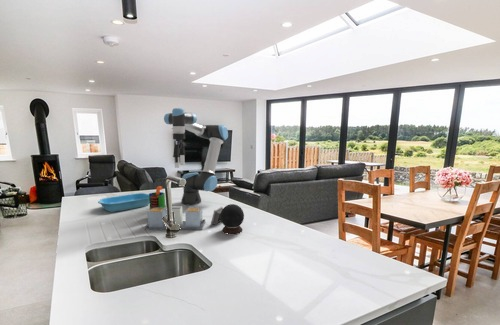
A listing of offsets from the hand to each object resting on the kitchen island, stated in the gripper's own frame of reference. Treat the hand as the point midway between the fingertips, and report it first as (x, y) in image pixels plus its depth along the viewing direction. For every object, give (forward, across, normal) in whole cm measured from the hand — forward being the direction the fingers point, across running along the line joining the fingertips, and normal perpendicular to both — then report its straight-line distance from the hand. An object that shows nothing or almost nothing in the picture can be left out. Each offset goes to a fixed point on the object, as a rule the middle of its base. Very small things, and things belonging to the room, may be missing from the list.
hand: (179, 166), depth 169 cm
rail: (+33, +20, +2) cm, 38 cm away
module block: (+31, +20, +2) cm, 37 cm away
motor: (+33, +4, -14) cm, 36 cm away
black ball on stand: (+33, +27, +35) cm, 55 cm away
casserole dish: (+33, -21, -45) cm, 60 cm away
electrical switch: (+33, +14, +26) cm, 44 cm away
